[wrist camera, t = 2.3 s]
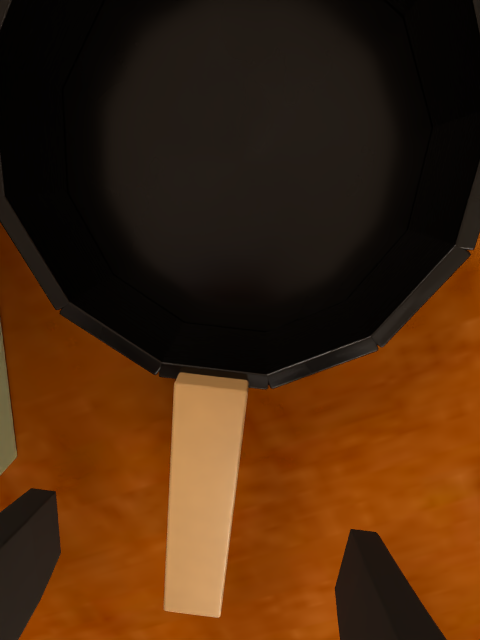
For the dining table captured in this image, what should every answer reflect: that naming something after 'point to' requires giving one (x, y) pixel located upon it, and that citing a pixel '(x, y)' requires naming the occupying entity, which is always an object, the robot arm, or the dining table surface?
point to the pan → (237, 200)
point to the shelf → (5, 415)
